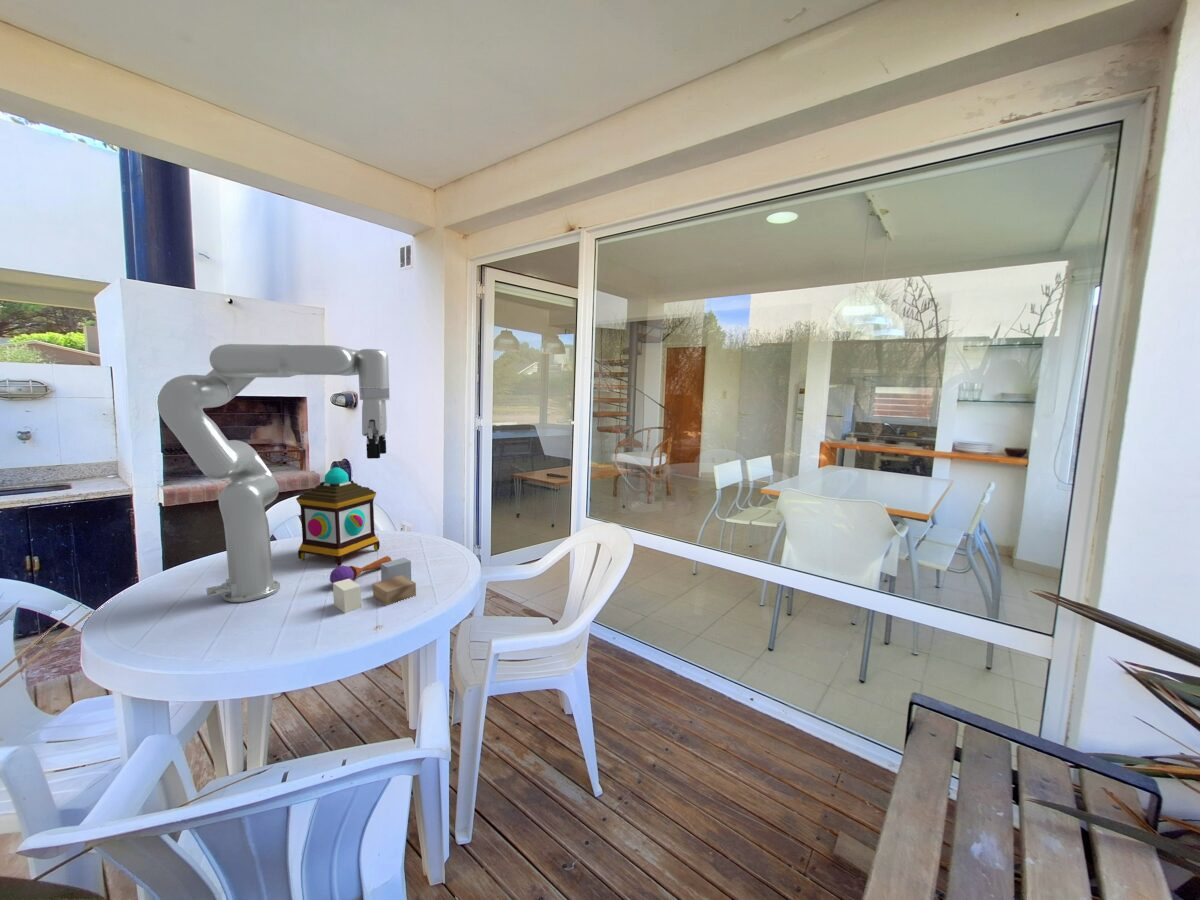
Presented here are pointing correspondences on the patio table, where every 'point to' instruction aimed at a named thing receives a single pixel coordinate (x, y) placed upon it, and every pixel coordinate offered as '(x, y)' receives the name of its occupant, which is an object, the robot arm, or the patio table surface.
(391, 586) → the walnut block
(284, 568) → the patio table surface
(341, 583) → the cream brick
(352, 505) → the decorative lantern
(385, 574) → the slate grey brick
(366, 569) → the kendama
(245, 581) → the robot arm
